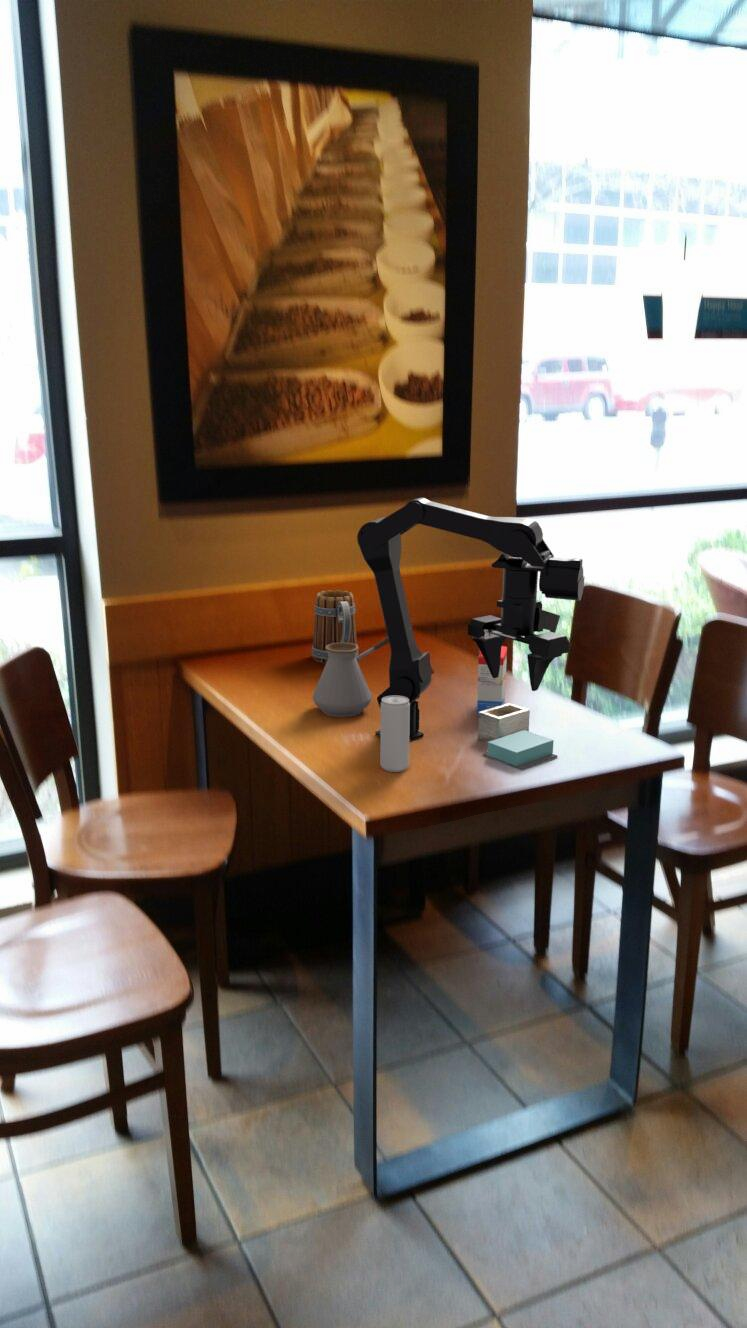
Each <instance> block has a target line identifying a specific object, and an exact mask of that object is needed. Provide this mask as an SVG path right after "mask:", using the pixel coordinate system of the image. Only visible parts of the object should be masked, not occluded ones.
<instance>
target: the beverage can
mask: <svg viewBox="0 0 747 1328" xmlns="http://www.w3.org/2000/svg"><path fill="white" fill-rule="evenodd" d="M380 730H381V733H380V736H379V737H380V741H379V742H380V743H379V745H380V748H379V749H380V751H379V752H380V755H379V756H380V757H379V758H380V759H379V760H380V762H379V764H380V766H381V768H382V769H383V771H385V772H389V773H400V772H404V771H405V770H407V769H408V768H409V764H410V740H409V731H410V703H409V699H408V698H407V697H404V696H398V695H392V696H386V697H383V698H382V702H381V709H380Z"/></svg>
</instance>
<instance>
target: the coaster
mask: <svg viewBox="0 0 747 1328" xmlns="http://www.w3.org/2000/svg"><path fill="white" fill-rule="evenodd" d="M482 756H484V757H487V758H489V759H492V760H494V761H497V762H500V763H502V764H505V765H507V766H509V767H512V768H514V769H517V770H521V771H524V770H526V769H530V768H533V767H535V766H537V765H540V764H543V763H547V762H548V761H552V760H554V759H558V755H557V754H555V753H552V754H549V755H546V756H543V757H540V758H538V759H535V760H532V761H529V762H526V763H523V764H521V765H518V766H515V765H512V764H509V763H507V762H504V761H501V760H499V759H496V758H493V757H491V756H488V755H487V751H486V752H483V753H482Z"/></svg>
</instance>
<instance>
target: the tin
mask: <svg viewBox="0 0 747 1328" xmlns="http://www.w3.org/2000/svg"><path fill="white" fill-rule="evenodd" d="M530 710H531V709H529V708H527V707H522V706H519V705H517V704H513V703H510V702H507V703H505V704H504V705H501V706H497V707H494V708H491V709H487V710H484V711H480V712H479V715H478V719H477V720H478V722H477V725H478V726H477V727H478V728H477V739H479V740H480V741H484V742H487V743H488V742H490V741H493V740H496V739H499V738H502V737H505V736H508V735H511V734H514V733H517V732H520V731H523V730H526V731H529V732H530V715H531V714H530V713H531V712H530Z"/></svg>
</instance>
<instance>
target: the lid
mask: <svg viewBox="0 0 747 1328" xmlns="http://www.w3.org/2000/svg"><path fill="white" fill-rule="evenodd" d="M486 752H487V755H488V756H491V757H493V758H496V759H499V760H501V761H504V762H507V763H509V764H512V765H515V766H518V765H521V764H523V763H526V762H529V761H532V760H535V759H538V758H540V757H543V756H546V755H549V754H554V739H552V738H549V737H546V736H542V735H540V734H537V733H534V732H531V731H530V730H529V731H526V730H523V731H520V732H517V733H514V734H511V735H508V736H505V737H502V738H499V739H496V740H493V741H490V742H487V751H486Z"/></svg>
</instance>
